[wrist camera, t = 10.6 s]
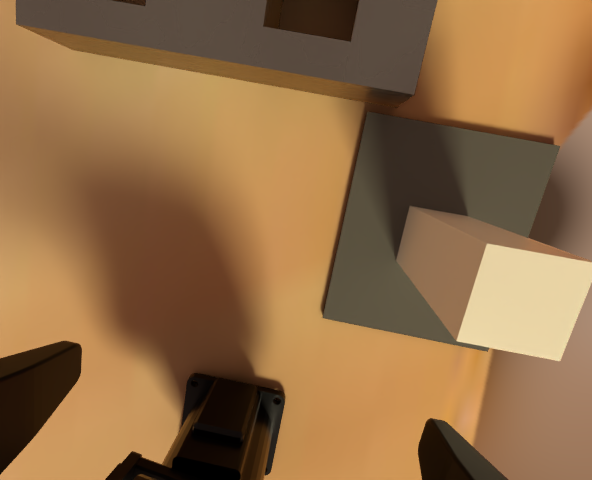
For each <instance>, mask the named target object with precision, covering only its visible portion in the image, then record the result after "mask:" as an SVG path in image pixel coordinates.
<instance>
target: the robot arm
mask: <svg viewBox="0 0 592 480" xmlns="http://www.w3.org/2000/svg"><path fill="white" fill-rule="evenodd" d="M81 357H82V348H81V345H80V344H78V343H74V342H69V341H61V342H57V343H54V344H50V345H47V346H43V347H39V348H36V349H32V350H29V351H25V352H21V353H18V354H14V355H11V356H7V357H4V358H0V474H1V473H2V472H3V471H4V470H5V469H6V468H7V466H8V465H9V464H10V463H11V462H12V461H13V460H14V459H15V458H16V457H17V455H18V454H19V453H20V452H21V451H22V450H23V449H24V448H25V447H26V446H27V444H28V443H29V442H30V441H31V440H32V439H33V438H34V436H35V435H36V434H37V433H38V431H39V430H40V429H41V428H42V426H43V425H44V424H45V423H46V421H47V420H48V419H49V417H50V416H51V415H52V413H53V412H54V411H55V410H56V408H57V407H58V406H59V404H60V403H61V402H62V400H63V399H64V398H65V397H66V395H67V394H68V393H69V391H70V390H71V389H72V387H73V386H74V385H75V383H76V382H77V381H78V379H79V377H80V373H81ZM193 380H195V381H197V382H198V383H195V382H194V381H193ZM275 398H279V399H280V400H278V401H277V400H275ZM284 404H285V395H284V393H283V392H281V391H278V390H274V389H269V388H264V387H259V386H255V385H251V384H246V383H241V382H237V381H232V380H227V379H223V378H217V377H212V376H208V375H203V374H198V373H194V374H192V375H191V376H190V377H189V379H188V381H187V387H186V395H185V404H184V412H183V420H182V428H181V430H180V431H179V433H178V435H177V437H176V439H175V441H174V443H173V444H172V446H171V448H170V450H169V452H168V454H167V456H166V457H165V459H164V461H163V463H162V464H159V463H156V462H154V461H151V460H148V459H146V458H143V457H142V455H141V454H139V453H136V452H133V451H132V452H131V453H130V454H129V455H128V456H127V458H126V459H125V460H124V461H123V462H122V463H119V464H118V465H117V467H116V468H115V469H114V470H113V471H112V472H111V473H110V475H109V476H108V477H107V478H106V479H105V480H264V475H268V474H269V473H270V472H271V468H272V463H273V458H274V453H275V448H276V443H277V438H278V434H279V429H280V424H281V419H282V414H283V409H284ZM418 457H419V463H420V469H421V476H422V480H508V479H507V478H506V477H505V476H504V475H503V474H502V473H501V472H499V471H498V470H497V469H496V468H495V467H494V466H493V465H492V464H491V463H490V462H489V461H488V460H487V459H485V458H484V457H483V456H482V455H481V454H480V453H479V452H478V451H477V450H476V449H475V448H474V447H473V446H472V445H470V444H469V443H468V442H467V441H466V440H465V439H464V438H463V437H462V436H461V435H460V434H459V433H458V432H457V431H455V430H454V429H453V428H452V427H451V426H450V425H449V424H448V423H447V422H445V421H442V420H437V419H432V418H430V419H428V420H427V421H426V424H425V427H424V430H423V433H422V436H421V439H420V442H419V446H418Z"/></svg>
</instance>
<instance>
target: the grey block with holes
mask: <svg viewBox="0 0 592 480" xmlns="http://www.w3.org/2000/svg"><path fill="white" fill-rule="evenodd" d="M282 1H283V0H146V6H141V5H135V4H130V3H124V2H118V1H112V0H16V24H17V25H19V26H21V27H23V28H26V29H28V30H30V31H32V32H34V33H37V34H39V35H41V36H43V37H45V38H48V39H50V40H52V41H54V42H56V43H59V44H61V45H63V46H65V47H67V48H70V49H72V50H76V51H82V52H87V53H93V54H99V55H104V56H110V57H115V58H121V59H127V60H132V61H138V62H143V63H149V64H154V65H160V66H166V67H171V68H177V69H182V70H188V71H194V72H199V73H205V74H210V75H216V76H222V77H227V78H233V79H238V80H244V81H250V82H255V83H261V84H266V85H272V86H278V87H283V88H289V89H294V90H300V91H305V92H311V93H317V94H322V95H328V96H333V97H339V98H345V99H350V100H356V101H361V102H367V103H373V104H378V105H384V106H389V107H395V108H397V107H399V106H400V105H401V104H403V103H404V102H405V101H407V100H408V99H409V98H410V97H412V96H413V95H414V93H415V89H416V85H417V81H418V77H419V73H420V69H421V65H422V61H423V57H424V53H425V49H426V45H427V40H428V36H429V32H430V28H431V24H432V20H433V16H434V12H435V8H436V4H437V0H359V1H358V6H357V11H356V16H355V21H354V26H353V31H352V36H351V41H344V40H338V39H332V38H327V37H321V36H315V35H309V34H303V33H298V32H292V31H286V30H280V29H278V27H279V21H280V14H281V8H282Z"/></svg>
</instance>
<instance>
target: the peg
mask: <svg viewBox="0 0 592 480" xmlns="http://www.w3.org/2000/svg"><path fill="white" fill-rule="evenodd" d="M396 261H397V263H398V264H399V265H400V267H401V268H402V269H403V271H404V272H405V273H406V275H407V276H408V277H409V279H410V280H411V281H412V283H413V284H414V285H415V287H416V288H417V289H418V291H419V292H420V293H421V295H422V296H423V297H424V299H425V300H426V301H427V303H428V304H429V305H430V307H431V308H432V309H433V311H434V312H435V313H436V315H437V316H438V317H439V319H440V320H441V321H442V323H443V324H444V325H445V327H446V328H447V329H448V331H449V332H450V333H451V335H452V336H453V337H454V339H455V340H456V341H458V342H463V343H468V344H473V345H479V346H484V347H489V348H494V349H499V350H505V351H510V352H515V353H520V354H525V355H530V356H536V357H541V358H546V359H551V360H556V361H560V360H561V357H562V355H563V352H564V350H565V348H566V345H567V343H568V340H569V337H570V335H571V332H572V330H573V327H574V325H575V322H576V320H577V317H578V315H579V312H580V310H581V307H582V305H583V302H584V300H585V297H586V295H587V292H588V290H589V287H590V285H591V282H592V261H590V260H587V259H585V258H582V257H579V256H576V255H573V254H571V253H568V252H565V251H562V250H560V249H557V248H554V247H551V246H549V245H546V244H543V243H540V242H538V241H535V240H532V239H529V238H527V237H524V236H521V235H518V234H516V233H513V232H510V231H507V230H505V229H502V228H499V227H496V226H494V225H491V224H488V223H485V222H482V221H480V220H477V219H474V218H471V217H469V216H464V215H458V214H453V213H447V212H441V211H436V210H430V209H425V208H419V207H413V206H410V207H409V211H408V215H407V219H406V223H405V227H404V231H403V235H402V239H401V243H400V247H399V251H398V255H397V259H396Z"/></svg>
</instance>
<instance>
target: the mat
mask: <svg viewBox="0 0 592 480" xmlns="http://www.w3.org/2000/svg"><path fill="white" fill-rule="evenodd" d="M559 148H560V146H557V145H551V144H546V143H540V142H535V141H529V140H523V139H518V138H512V137H507V136H501V135H496V134H490V133H484V132H479V131H473V130H468V129H462V128H457V127H451V126H446V125H440V124H434V123H429V122H423V121H418V120H412V119H407V118H401V117H395V116H390V115H384V114H379V113H373V112H367V114H366V119H365V123H364V128H363V133H362V137H361V142H360V146H359V151H358V156H357V160H356V165H355V169H354V174H353V179H352V183H351V188H350V192H349V197H348V202H347V206H346V211H345V215H344V220H343V225H342V229H341V234H340V238H339V243H338V248H337V252H336V257H335V261H334V266H333V270H332V275H331V280H330V284H329V289H328V293H327V298H326V303H325V307H324V312H323V318H325V319H330V320H335V321H340V322H345V323H349V324H354V325H359V326H364V327H369V328H374V329H379V330H384V331H389V332H394V333H399V334H404V335H408V336H413V337H418V338H423V339H428V340H433V341H438V342H443V343H448V344H453V345H458V346H462V347H467V348H472V349H477V350H482V351H487V352H488V350H489V347H484V346H479V345H473V344H468V343H463V342H458V341H456V340H455V339H454V337H453V336H452V335H451V333H450V332H449V331H448V329H447V328H446V327H445V325H444V324H443V323H442V321H441V320H440V319H439V317H438V316H437V315H436V313H435V312H434V311H433V309H432V308H431V307H430V305H429V304H428V303H427V301H426V300H425V299H424V297H423V296H422V295H421V293H420V292H419V291H418V289H417V288H416V287H415V285H414V284H413V283H412V281H411V280H410V279H409V277H408V276H407V275H406V273H405V272H404V271H403V269H402V268H401V267H400V265H399V264H398V263H397V261H396V259H397V255H398V251H399V247H400V243H401V239H402V235H403V231H404V227H405V223H406V219H407V215H408V211H409V207H410V206H413V207H419V208H425V209H430V210H436V211H441V212H447V213H453V214H458V215H464V216H469V217H471V218H474V219H477V220H480V221H482V222H485V223H488V224H491V225H494V226H496V227H499V228H502V229H505V230H507V231H510V232H513V233H516V234H518V235H521V236H524V237H527V238H528V236H529V233H530V230H531V227H532V225H533V222H534V219H535V216H536V213H537V211H538V208H539V205H540V202H541V199H542V196H543V194H544V191H545V188H546V185H547V182H548V179H549V176H550V174H551V171H552V168H553V165H554V162H555V160H556V157H557V154H558V151H559Z"/></svg>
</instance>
